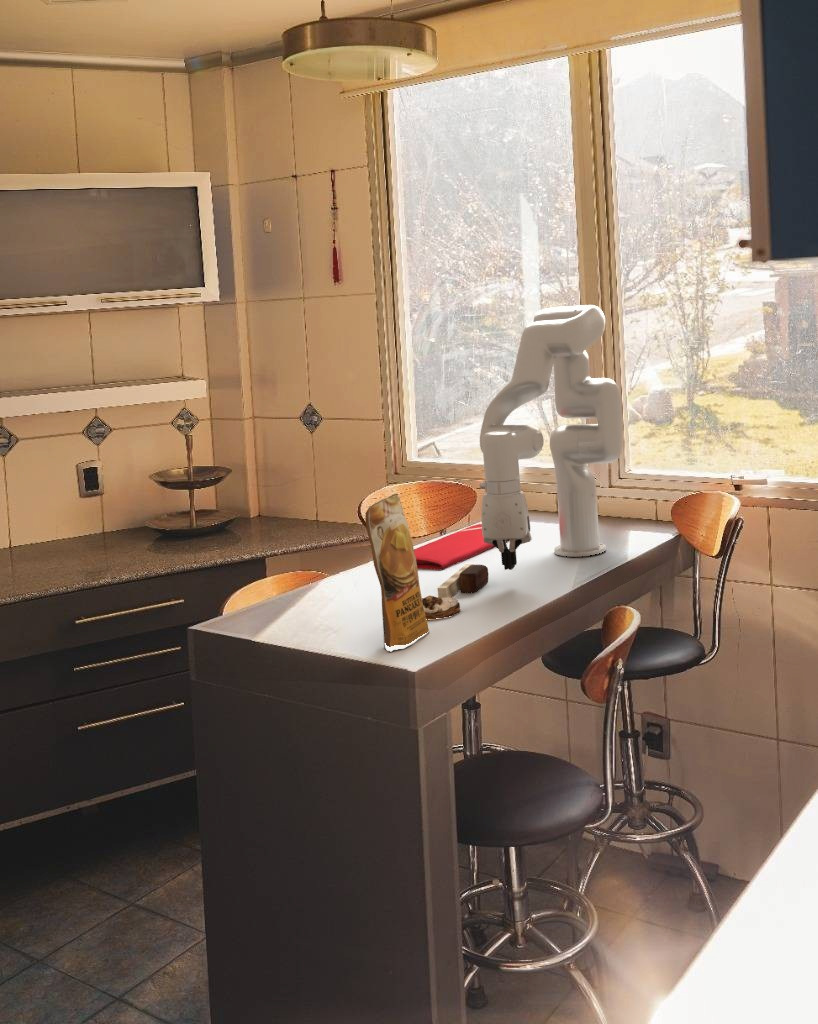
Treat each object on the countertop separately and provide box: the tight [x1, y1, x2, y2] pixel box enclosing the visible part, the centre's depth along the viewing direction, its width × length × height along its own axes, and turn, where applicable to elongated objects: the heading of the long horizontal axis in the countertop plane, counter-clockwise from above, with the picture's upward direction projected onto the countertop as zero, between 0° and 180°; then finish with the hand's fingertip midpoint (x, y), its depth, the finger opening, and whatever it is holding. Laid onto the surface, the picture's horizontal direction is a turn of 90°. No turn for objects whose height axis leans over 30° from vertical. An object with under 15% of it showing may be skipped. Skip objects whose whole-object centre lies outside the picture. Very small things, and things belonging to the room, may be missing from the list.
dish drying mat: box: [414, 523, 509, 571], centre depth 311 cm, size 16×41×4 cm, turn 146°
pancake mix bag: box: [364, 493, 430, 647], centre depth 231 cm, size 7×19×28 cm, turn 155°
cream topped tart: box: [422, 595, 461, 621], centre depth 252 cm, size 15×15×4 cm
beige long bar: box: [437, 563, 475, 598], centre depth 270 cm, size 22×2×3 cm, turn 161°
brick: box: [459, 564, 489, 594], centre depth 270 cm, size 11×4×5 cm, turn 161°
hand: (509, 568), depth 267 cm, fingers closed
